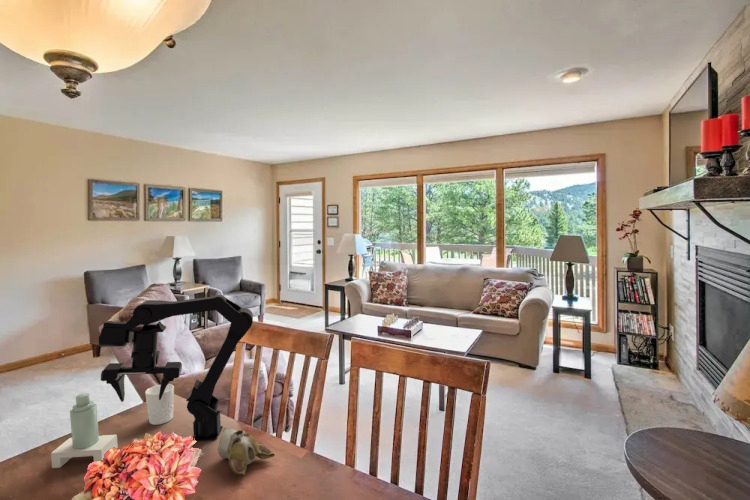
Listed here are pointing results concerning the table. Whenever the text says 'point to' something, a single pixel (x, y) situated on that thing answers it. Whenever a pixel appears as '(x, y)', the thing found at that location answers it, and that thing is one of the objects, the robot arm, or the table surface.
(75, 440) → the sage spray can
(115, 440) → the shelf
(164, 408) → the white cup
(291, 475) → the table surface
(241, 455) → the ceramic sculpture
